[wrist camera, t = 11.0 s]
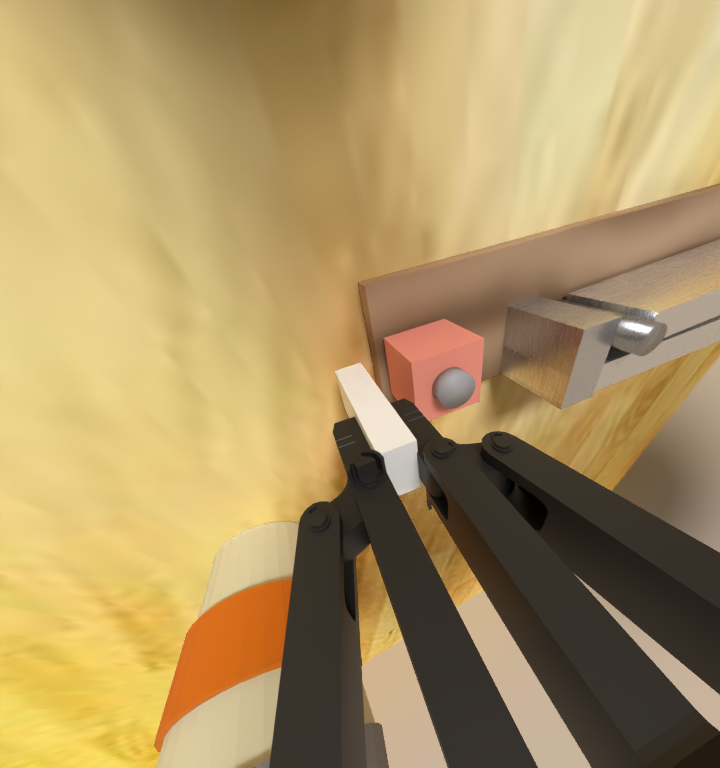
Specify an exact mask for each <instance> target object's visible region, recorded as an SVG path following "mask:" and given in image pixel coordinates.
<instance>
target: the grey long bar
mask: <svg viewBox="0 0 720 768" xmlns="http://www.w3.org/2000/svg"><path fill="white" fill-rule="evenodd" d="M620 320H621V316H617V315H613V314H609V313H605V312H601V311H597V310H592V309H588V308H584V307H580V306H576V305H572V304H568V303H563V302H559V301H555V300H551V299H547V298H543V297H539V296H538V297H535V298H532V299H529V300H526V301H522V302H519V303H516V304H513V305H510V306H508V311H507V319H506V327H505V335H504V343H503V351H502V359H501V367H500V373H501V374H503V375H504V376H506V377H508V378H509V379H511V380H513V381H514V382H516V383H518V384H519V385H521V386H523V387H524V388H526V389H528V390H529V391H531V392H533V393H534V394H536V395H537V396H539V397H541V398H542V399H544V400H546V401H547V402H549V403H551V404H552V405H554V406H556V407H557V408H559V409H563V408H565V407H568V406H570V405H573V404H575V403H578V402H580V401H582V400H585V399H587V398H590V397H592V395H593V393H594V392H595V391H598V390H600V389H603V388H605V387H608V386H610V385H612V384H615V383H617V382H620V381H622V380H625V379H627V378H630V377H632V376H635V375H637V374H640V373H642V372H645V371H647V370H649V369H652V368H654V367H657V366H659V365H662V364H664V363H667V362H669V361H672V360H674V359H677V358H679V357H682V356H684V355H686V354H689V353H691V352H694V351H696V350H699V349H701V348H704V347H706V346H709V345H711V344H714V343H716V342H719V341H720V315H718V316H716V317H714V318H711V319H709V320H706V321H704V322H701V323H699V324H697V325H694V326H692V327H689V328H687V329H685V330H682V331H680V332H677V333H675V334H672V335H670V336H668V337H665V338H663V340H662V341H661V343H660V344H659V345H658V346H657V347H656V348H655V349H654V350H653V351H652V352H650V353H649V354H647V355H645V356H638V355H635V354H632V353H629V352H626V351H623V350H620V349H617V348H614V347H611V344H612V342H613V339H614V336H615V333H616V331H617V328H618V325H619V323H620Z"/></svg>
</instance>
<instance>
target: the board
mask: <svg viewBox="0 0 720 768" xmlns="http://www.w3.org/2000/svg"><path fill="white" fill-rule="evenodd" d="M719 239H720V184H717V185H713V186H709V187H706V188H702V189H698V190H695V191H691V192H687V193H684V194H680V195H676V196H673V197H669V198H665V199H662V200H658V201H654V202H651V203H647V204H644V205H640V206H636V207H633V208H629V209H625V210H622V211H618V212H614V213H611V214H607V215H603V216H600V217H596V218H592V219H589V220H585V221H581V222H578V223H574V224H570V225H567V226H563V227H560V228H556V229H552V230H549V231H545V232H541V233H538V234H534V235H530V236H527V237H523V238H519V239H516V240H512V241H508V242H505V243H501V244H497V245H494V246H490V247H487V248H483V249H479V250H476V251H472V252H468V253H465V254H461V255H457V256H454V257H450V258H446V259H443V260H439V261H435V262H432V263H428V264H424V265H421V266H417V267H413V268H410V269H406V270H403V271H399V272H395V273H392V274H388V275H384V276H381V277H377V278H373V279H370V280H366V281H362V282H359V283H358V286H359V291H360V297H361V302H362V307H363V313H364V318H365V324H366V329H367V335H368V340H369V345H370V351H371V356H372V362H373V367H374V373H375V378H376V383H377V386H378V388H379V389H380V390H381V392H382V393H383V394H384V396H385V397H386V399H387V400H388V401H389V403H392V402H395V401H398V400H397V399H396V398H395V397H394V395H393V394H392V392H391V385H390V378H389V372H388V365H387V358H386V352H385V345H384V338H385V337H388V336H391V335H394V334H397V333H401V332H404V331H407V330H410V329H413V328H417V327H420V326H423V325H426V324H429V323H432V322H436V321H439V320H442V319H446V320H448V321H450V322H452V323H454V324H456V325H458V326H460V327H462V328H464V329H467V330H469V331H471V332H473V333H475V334H477V335H479V336H481V337H483V338H485V339H484V351H483V364H482V377H481V381H483V380H486V379H488V378H491V377H494V376H497V375H499V374H501V373H500V367H501V359H502V351H503V343H504V335H505V327H506V319H507V311H508V306H510V305H513V304H516V303H519V302H522V301H526V300H529V299H532V298H535V297H538V296H539V297H543V298H547V299H551V300H557V299H562V300H566V299H567V294H568V293H571V292H574V291H576V290H579V289H582V288H585V287H588V286H590V285H593V284H596V283H599V282H602V281H604V280H607V279H610V278H613V277H616V276H618V275H621V274H624V273H627V272H630V271H632V270H635V269H638V268H641V267H644V266H646V265H649V264H652V263H655V262H658V261H660V260H663V259H666V258H669V257H672V256H674V255H677V254H680V253H683V252H686V251H688V250H691V249H694V248H697V247H700V246H702V245H705V244H708V243H711V242H714V241H716V240H719Z"/></svg>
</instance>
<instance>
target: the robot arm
mask: <svg viewBox="0 0 720 768" xmlns="http://www.w3.org/2000/svg"><path fill="white" fill-rule="evenodd" d="M335 374H336V377H337V381H338V385H339V388H340V392H341V395H342V399H343V403H344V406H345V410H346V412H347V414H348V416H349V419H346V420H343V421H340V422H338V423H335V424H334V429H333V434H334V437H335V440H336V443H337V446H338V449H339V452H340V455H341V458H342V461H343V464H344V467H345V470H346V473H347V476H348V480H347V485H346V487H345V489H344V490H343V492H342V493H341V494H340V495H339V496H338V497H337V498H335V499H334V500H333V501H332V502H330V503H329V502H318V503H315V504H312V505H311V506H310V507H309V508H307V509H306V510H305V512H304V513H303V515H302V516H301V519H300V522H299V527H298V535H297V543H296V552H295V560H294V568H293V576H292V584H291V593H290V601H289V609H288V617H287V625H286V633H285V642H284V650H283V658H282V666H281V674H280V683H279V691H278V699H277V707H276V715H275V724H274V732H273V740H272V748H271V756H270V764H269V768H367V761H366V742H365V724H364V705H363V687H362V668H361V650H360V631H359V613H358V594H357V576H356V556H357V555H358V554H359V553H360V552H362V551H363V550H364V549H365V548H366V547H367V546H368V545H369V544H370V543H371V546H372V549H373V552H374V555H375V558H376V561H377V564H378V566H379V569H380V572H381V575H382V578H383V581H384V584H385V587H386V590H387V593H388V595H389V598H390V601H391V604H392V607H393V610H394V613H395V616H396V619H397V622H398V624H399V627H400V630H401V633H402V636H403V639H404V642H405V645H406V647H407V651H408V653H409V656H410V659H411V662H412V665H413V668H414V671H415V674H416V677H417V680H418V682H419V685H420V688H421V691H422V694H423V697H424V700H425V703H426V706H427V709H428V711H429V714H430V717H431V720H432V723H433V726H434V729H435V732H436V735H437V737H438V740H439V743H440V746H441V749H442V752H443V755H444V758H445V760H446V764H447V767H448V768H538V767H537V765H536V763H535V761H534V759H533V757H532V755H531V753H530V752H529V749H528V748H527V746H526V744H525V742H524V740H523V738H522V736H521V734H520V732H519V730H518V728H517V726H516V724H515V722H514V720H513V718H512V716H511V714H510V712H509V710H508V709H507V707H506V705H505V703H504V701H503V699H502V697H501V695H500V693H499V691H498V689H497V687H496V686H495V683H494V681H493V679H492V677H491V675H490V673H489V671H488V670H487V667H486V666H485V664H484V662H483V660H482V658H481V656H480V654H479V652H478V650H477V648H476V646H475V644H474V642H473V640H472V638H471V636H470V634H469V632H468V630H467V628H466V626H465V625H464V623H463V621H462V619H461V617H460V615H459V613H458V611H457V609H456V607H455V605H454V603H453V601H452V599H451V597H450V595H449V593H448V591H447V589H446V587H445V585H444V583H443V582H442V580H441V578H440V576H439V574H438V572H437V570H436V568H435V566H434V564H433V562H432V560H431V558H430V556H429V554H428V552H427V550H426V548H425V546H424V544H423V542H422V541H421V539H420V537H419V535H418V533H417V531H416V529H415V527H414V525H413V523H412V521H411V519H410V517H409V515H408V513H407V511H406V509H405V507H404V505H403V503H402V501H401V500H400V498H399V496H400V495H403V494H405V493H408V492H410V491H412V490H415V489H417V488H420V487H421V482H420V479H421V481H422V482H423V484H424V486H425V487H426V494H427V505H428V508H429V510H431V509H432V506H433V507H434V509H435V511H436V512H437V514H438V516H439V517H440V519H441V521H442V522H443V524H444V526H445V527H446V529H447V530H448V532H449V534H450V535H451V537H452V539H453V540H454V542H455V544H456V545H457V547H458V548H459V550H460V552H461V553H462V555H463V557H464V558H465V560H466V562H467V563H468V565H469V567H470V568H471V570H472V571H473V573H474V575H475V576H476V578H477V580H478V581H479V583H480V585H481V586H482V588H483V590H484V591H485V593H486V594H487V596H488V598H489V599H490V601H491V603H492V604H493V606H494V608H495V609H496V611H497V612H498V614H499V616H500V617H501V619H502V621H503V622H504V624H505V626H506V627H507V629H508V630H509V632H510V634H511V635H512V637H513V639H514V640H515V642H516V644H517V645H518V647H519V648H520V650H521V652H522V654H523V655H524V657H525V659H526V660H527V662H528V663H529V665H530V667H531V668H532V670H533V672H534V673H535V675H536V676H537V678H538V680H539V682H540V683H541V685H542V686H543V688H544V690H545V691H546V693H547V695H548V696H549V698H550V699H551V701H552V703H553V705H554V706H555V708H556V709H557V711H558V713H559V714H560V716H561V718H562V719H563V721H564V723H565V724H566V726H567V727H568V729H569V731H570V732H571V734H572V736H573V737H574V739H575V741H576V742H577V744H578V746H579V747H580V749H581V751H582V752H583V754H584V755H585V757H586V759H587V760H588V762H589V764H590V766H591V767H592V768H720V731H718V730H717V729H716V728H715V727H714V726H712V725H711V724H710V723H709V722H708V721H707V720H706V719H705V718H704V717H703V716H702V715H701V714H700V713H699V712H698V711H697V710H696V709H695V708H694V707H693V706H692V705H691V704H690V702H689V701H688V700H687V699H686V698H685V697H684V696H683V695H682V694H681V692H680V691H679V690H678V689H677V688H676V687H675V686H674V685H673V684H672V682H671V681H670V680H669V679H668V678H667V677H666V676H665V675H664V673H662V671H661V670H660V669H659V668H658V667H657V666H656V665H655V663H654V662H653V661H652V660H651V659H650V658H649V657H648V656H647V655H646V653H645V652H644V651H643V650H642V649H641V648H640V647H639V646H638V645H637V643H636V642H635V641H634V640H633V639H632V638H631V637H630V636H629V635H628V634H627V632H626V631H625V630H624V629H623V628H622V627H621V626H620V625H619V624H618V622H617V621H616V620H615V619H614V618H613V617H612V616H611V615H610V614H609V612H608V611H607V610H606V609H605V608H604V607H603V606H602V605H601V603H600V602H599V601H598V600H597V599H596V598H595V597H594V596H593V595H592V593H591V592H590V591H589V590H588V589H587V588H586V587H585V586H584V585H583V583H582V582H581V581H580V580H579V579H578V578H577V577H576V576H575V574H576V575H577V576H578V577H579V578H580V579H582V580H583V581H584V582H585V583H586V584H587V585H589V586H590V587H591V588H592V589H594V590H595V591H596V592H597V593H598V594H600V595H601V596H602V597H603V598H604V599H606V600H607V601H608V602H609V603H610V604H611V605H613V606H614V607H615V608H616V609H618V610H619V611H620V612H621V613H622V614H624V615H625V616H626V617H627V618H629V619H630V620H631V621H632V622H634V624H636V625H637V626H638V627H639V628H640V629H642V630H643V631H644V632H645V633H647V634H648V635H649V636H650V637H651V638H652V639H654V640H655V641H656V642H657V643H658V644H660V645H661V646H662V647H663V648H664V649H666V650H667V651H668V652H669V653H670V654H672V655H673V656H674V657H675V658H677V659H678V660H679V661H680V662H681V663H682V664H684V665H685V666H686V667H687V668H688V669H690V670H691V671H692V672H693V673H694V674H696V675H697V676H698V677H699V678H700V679H702V680H703V681H704V682H705V683H707V684H708V685H709V686H710V687H711V688H712V689H714V690H715V691H716V692H717V693H719V694H720V553H719V552H717V551H716V550H714V549H712V548H710V547H709V546H707V545H705V544H703V543H702V542H700V541H698V540H696V539H695V538H693V537H691V536H689V535H687V534H686V533H684V532H682V531H681V530H679V529H677V528H675V527H674V526H672V525H670V524H668V523H666V522H665V521H663V520H661V519H659V518H658V517H656V516H654V515H652V514H651V513H649V512H647V511H645V510H644V509H642V508H640V507H638V506H636V505H635V504H633V503H631V502H630V501H628V500H626V499H624V498H623V497H620V496H619V495H617V494H615V493H614V492H612V491H610V490H608V489H607V488H605V487H603V486H601V485H600V484H598V483H596V482H594V481H593V480H591V479H589V478H587V477H586V476H584V475H582V474H580V473H579V472H577V471H575V470H573V469H571V468H570V467H568V466H566V465H564V464H563V463H561V462H559V461H557V460H556V459H554V458H552V457H550V456H549V455H547V454H545V453H543V452H542V451H540V450H538V449H536V448H535V447H533V446H531V445H529V444H528V443H526V442H524V441H522V440H520V439H519V438H517V437H515V436H513V435H511V434H509V433H506V432H500V431H497V432H490V433H488V434H486V435H485V436H484V437H483V438H482V443H474V444H456V443H455V442H454V441H453V440H450V439H447V438H443V437H442V436H441V435H440V433H439V432H438V431H437V430H436V429H435V428H434V427H433V425H432V424H431V423H430V422H429V421H428V420H427V418H426V417H425V416H423V414H422V413H421V411H419V409H418V408H417V407H416V406H415V405H414V403H413V402H410V401H408V400H406V399H404V398H403V399H401V400H398V401H395V402H392V403H389V401H388V400H387V399H386V397H385V396H384V394H383V393H382V392H381V390H380V389H379V388H378V386H377V385H376V383H375V382H374V381H373V379H372V378H371V377H370V375H369V374H368V372H367V371H366V370H365V368H364V367H363V366H362V364H361V363H358V364H354V365H351V366H348V367H345V368H342V369H339V370H336V371H335ZM431 504H432V506H431Z"/></svg>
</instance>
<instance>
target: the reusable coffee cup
mask: <svg viewBox="0 0 720 768" xmlns="http://www.w3.org/2000/svg"><path fill="white" fill-rule="evenodd" d="M298 527H299V523H295V522H272V523H265V524H262V525H258V526H254V527H252V528H249V529H247V530H244V531H242V532H240V533H239V534H237V535H235V536H233V537H232V538H231V539H229V540H228V541H227V542H225V543H224V544H223V545H222V546H221V547H220V549H219V550H218V552H217V553H216V555H215V558H214V562H213V565H212V569H211V572H210V576H209V580H208V583H207V587H206V590H205V594H204V598H203V601H202V605H201V608H200V612H199V615H198V619H197V621H196V622H195V623H194V624H193V625H192V626H191V628H190V629H189V631H188V632H187V634H186V638H185V641H184V644H183V648H182V651H181V654H180V658H179V661H178V665H177V668H176V671H175V675H174V678H173V681H172V685H171V688H170V692H169V695H168V698H167V702H166V705H165V708H164V712H163V715H162V719H161V722H160V725H159V729H158V732H157V735H156V739H155V744H154V746H155V748H156V750H157V751H158V752H160V755H159V759H158V763H157V766H156V768H269V764H270V756H271V748H272V740H273V732H274V724H275V715H276V707H277V699H278V691H279V683H280V674H281V666H282V658H283V650H284V642H285V633H286V625H287V617H288V609H289V601H290V593H291V584H292V576H293V568H294V560H295V552H296V543H297V535H298ZM361 666H362V658H361ZM362 687H363V705H364V724H365V742H366V761H367V768H389V765H388V760H387V753H386V748H385V742H384V736H383V730H382V725H381V724H379V723H375V721H374V717H373V714H372V711H371V708H370V705H369V702H368V699H367V696H366V692H365V689H364V686H363V683H362Z"/></svg>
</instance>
